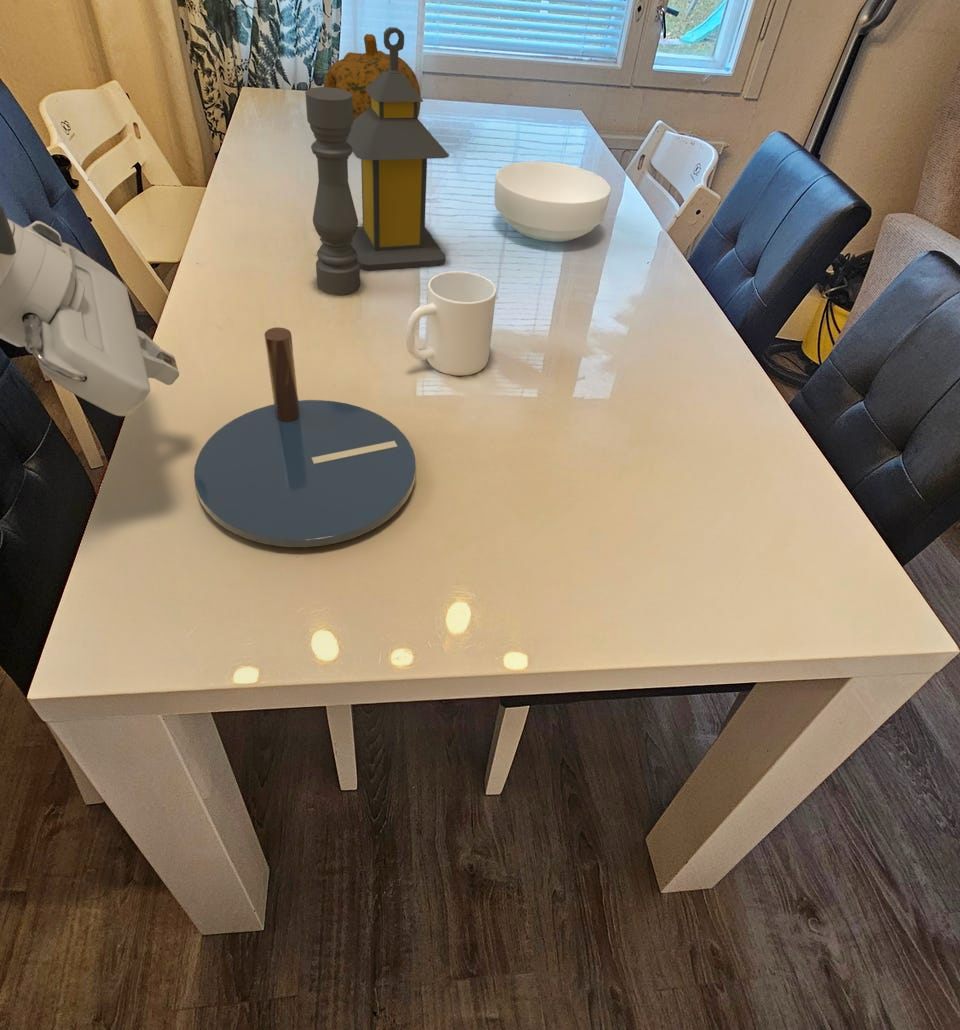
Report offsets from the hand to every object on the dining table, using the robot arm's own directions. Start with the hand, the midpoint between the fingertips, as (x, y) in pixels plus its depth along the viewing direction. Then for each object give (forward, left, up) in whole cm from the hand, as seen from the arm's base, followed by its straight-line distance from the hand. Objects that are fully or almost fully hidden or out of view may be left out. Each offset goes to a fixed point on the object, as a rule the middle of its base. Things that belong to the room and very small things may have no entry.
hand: (173, 372), depth 68 cm
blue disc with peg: (+10, -9, -9) cm, 16 cm away
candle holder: (+25, +31, -10) cm, 42 cm away
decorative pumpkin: (+51, +93, -10) cm, 107 cm away
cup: (+32, +7, -10) cm, 35 cm away
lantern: (+37, +41, -10) cm, 57 cm away
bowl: (+66, +42, -10) cm, 79 cm away
